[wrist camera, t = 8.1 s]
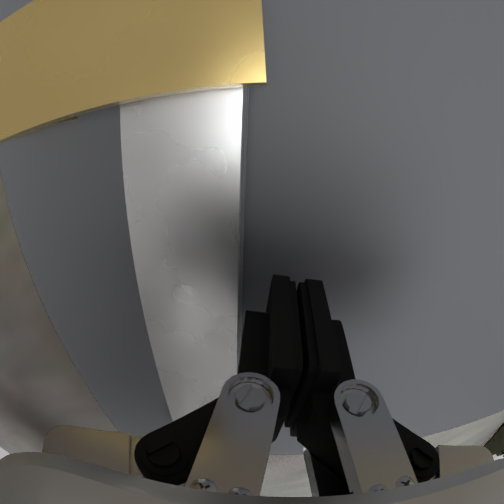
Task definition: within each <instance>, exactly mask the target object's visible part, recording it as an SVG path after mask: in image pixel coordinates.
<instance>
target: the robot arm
mask: <svg viewBox="0 0 504 504" xmlns="http://www.w3.org/2000/svg"><path fill="white" fill-rule="evenodd" d="M283 423H284V426H285V427H289V428H290V436H292V437H297V441H298V442H299V443H300V444H302V445H303V446H304V447H303V454H304V459H305V464H306V468H307V473H308V478H309V482H310V487H311V492H312V496H313V497H264V496H260V491H261V487H262V483H263V479H264V475H265V470H266V466H267V461H268V457H269V452H270V448H271V443H272V442H274V441H275V440H276V439H277V437H278V435H279V432H280V430H281V428H282V426H283ZM0 504H504V458H503V459H498V460H495V461H494V459H493V456H492V454H491V452H490V451H489V450H488V449H487V448H486V447H483V446H448V445H438V446H437V447H436V448H434V447H433V446H432V445H431V444H430V443H428V442H427V441H425V440H424V439H422V438H421V437H419V436H418V435H416V434H415V433H413V432H412V431H410V430H409V429H407V428H406V427H404V426H403V425H402V424H400V423H399V422H397V421H396V420H394V419H393V418H392V417H391V414H390V412H389V410H388V407H387V405H386V403H385V401H384V398H383V396H382V394H381V393H380V391H379V390H378V389H377V388H376V387H375V386H374V385H372V384H370V383H368V382H366V381H363V380H356V379H355V374H354V370H353V366H352V361H351V357H350V353H349V349H348V345H347V341H346V337H345V333H344V329H343V325H342V323H341V321H340V320H332V319H331V315H330V310H329V306H328V302H327V297H326V293H325V289H324V285H323V282H322V280H314V279H305V281H304V283H303V282H299V284H298V287H297V291H296V283H295V281H290V277H289V276H282V275H274V274H273V277H272V281H271V287H270V292H269V297H268V303H267V308H266V313H265V312H257V311H250V310H246V312H245V319H244V326H243V334H242V341H241V349H240V357H239V365H238V373H237V374H236V375H234V376H232V377H231V378H229V379H228V380H227V381H226V382H225V384H224V385H223V387H222V390H221V393H220V395H219V397H218V398H217V399H215V400H213V401H211V402H209V403H207V404H206V405H204V406H202V407H200V408H198V409H196V410H194V411H192V412H191V413H189V414H187V415H185V416H183V417H181V418H179V419H177V420H175V421H173V422H171V423H169V424H167V425H165V426H163V427H161V428H159V429H156V430H154V431H152V432H150V433H148V434H147V435H145V436H144V437H143V436H131V435H130V433H124V432H112V431H103V430H94V429H86V428H79V427H73V426H57V427H55V428H52V429H51V430H50V431H49V432H48V433H47V435H46V438H45V440H44V445H43V451H42V453H41V452H21V453H14V454H9V455H7V456H5V457H4V458H2V459H1V460H0Z"/></svg>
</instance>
